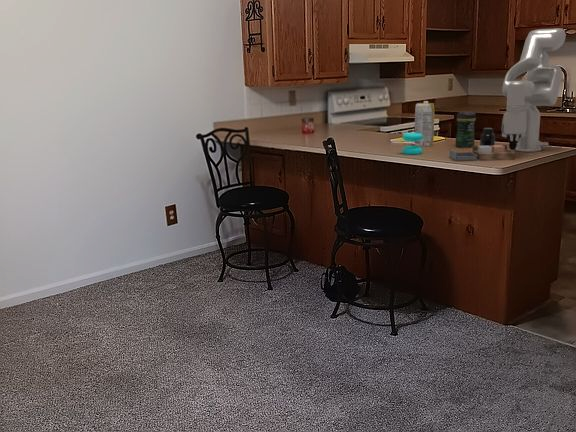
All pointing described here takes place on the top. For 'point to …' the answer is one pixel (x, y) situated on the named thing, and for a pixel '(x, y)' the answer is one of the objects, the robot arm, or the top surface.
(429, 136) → the juice carton
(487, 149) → the tile
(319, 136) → the top surface
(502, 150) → the tile
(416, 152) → the donuts
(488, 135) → the supplement bottle
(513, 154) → the board
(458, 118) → the coffee jar
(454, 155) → the box
